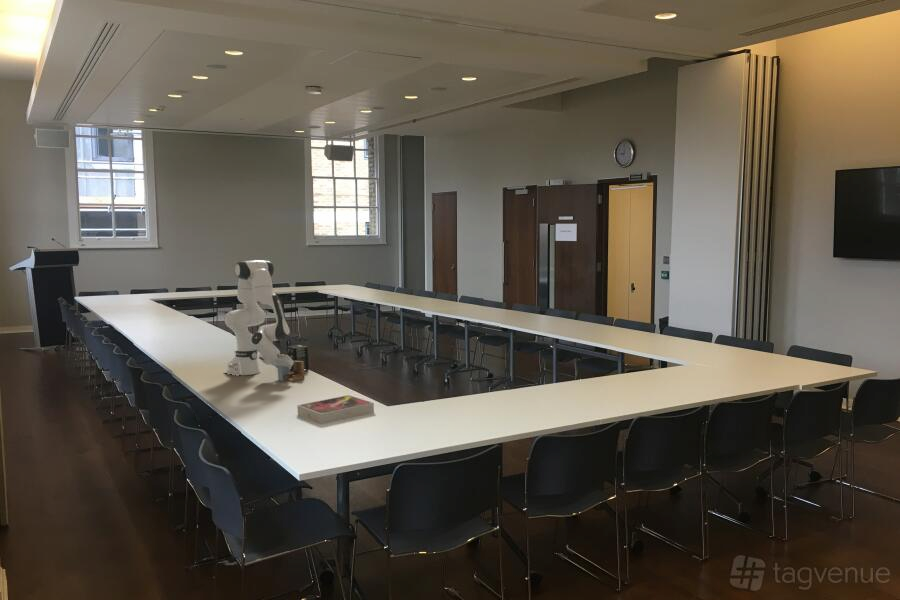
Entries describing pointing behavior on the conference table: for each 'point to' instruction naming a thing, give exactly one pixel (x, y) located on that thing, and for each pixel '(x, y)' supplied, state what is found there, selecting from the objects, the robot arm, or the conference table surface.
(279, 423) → the conference table surface
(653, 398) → the conference table surface
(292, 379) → the brown wooden holder
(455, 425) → the conference table surface
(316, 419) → the product packaging
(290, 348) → the tampon box
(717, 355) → the conference table surface
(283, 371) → the blue-grey rectangular block
